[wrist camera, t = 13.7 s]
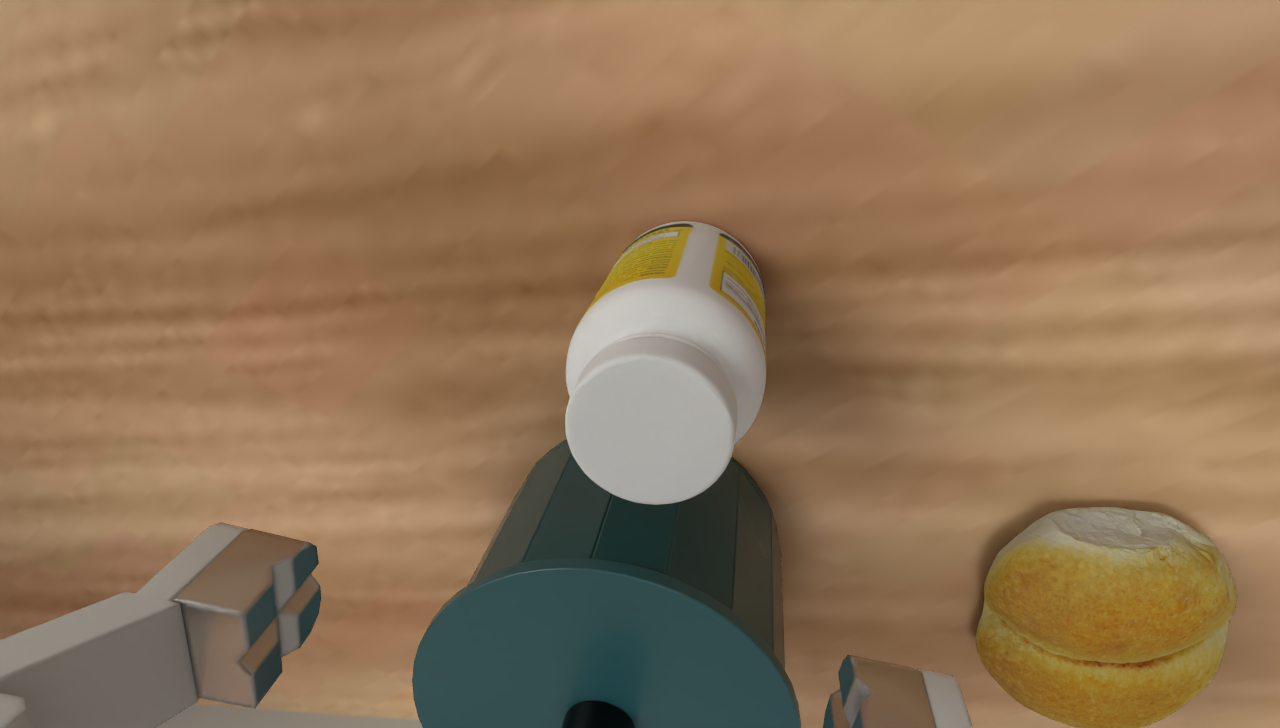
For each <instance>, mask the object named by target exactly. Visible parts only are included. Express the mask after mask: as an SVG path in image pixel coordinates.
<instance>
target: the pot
mask: <svg viewBox="0 0 1280 728" xmlns="http://www.w3.org/2000/svg"><path fill="white" fill-rule="evenodd" d="M571 557H573V558H591V559H603V560H609V561H615V562H621V563H627V564H631V565H635V566H639V567H642V568H646V569H650V570H653V571H657V572H659V573H662V574H664V575H667V576H670V577H672V578H675V579H677V580H680V581H683V582H684V583H686V584H688V585H690V586H692V587H694V588H696V589H698V590H700V591H702V592H704V593H706V594H708V595H709V596H711V597H712V598H714V599H716V600H717V601H719V602H720V603H722V604H723V605H725V606H726V607H728V608H729V609H731V610H732V611H733V612H734V613H736V614H737V615H738V616H739V617H740V618H742V619H743V620H744V621H745V622H746V623H748V624H749V625H750V626H751V627H752V628H753V629H754V630H755V631H756V632H757V633H758V634H759V636H760V637H761V638H762V639H763V640H764V641H765V642H766V643H767V644H768V645H769V647H770V648H771V650H772V651H773V652H774V654H775V655H776V657H777V658H778V659H779V661H780V662H781V664H782V666H783V668H784V670H785V655H784V625H783V595H782V564H781V551H780V547H779V542H778V534H777V527H776V523H775V519H774V516H773V513H772V510H771V508H770V506H769V504H768V502H767V499H766V497H765V496H764V494H763V493H762V491H761V490H760V488H759V487H758V485H757V484H756V482H755V481H754V480H753V479H752V478H751V476H750V475H749V474H748V473H747V472H746V471H745V470H744V469H743V468H742V467H741V466H740V465H739V464H738V463H737V462H735V461H734V460H733V459H732V458H731V459H730V461H729V463H728V465H727V467H726V469H725V470H724V472H723V473H722V474H721V476H720V477H719V478H718V479H717V481H716V482H714V483H713V484H712V485H711V486H710V487H709V488H707V489H706V490H705V491H703V492H702V493H700V494H698V495H696V496H694V497H692V498H690V499H687V500H684V501H681V502H676V503H671V504H659V505H654V504H642V503H636V502H632V501H629V500H626V499H623V498H620V497H618V496H616V495H613V494H611V493H610V492H608V491H606V490H605V489H603V488H601V487H600V486H599V485H597V484H596V483H595V482H593V481H592V480H591V479H590V478H589V477H588V476H587V475H586V474H585V473H584V471H583V470H582V469H581V467H580V466H579V465H578V463H577V462H576V460H575V458H574V457H573V455H572V453H571V450H570V447H569V444H568V442H567V440H565V441H563V442H561V443H560V444H559V445H557V446H556V447H554V448H553V449H551V450H550V451H549V452H548V453H547V454H545V455H544V456H543V457H542V458H541V459H540V460H539V461H538V462H537V463H536V464H535V466H534V468H533V469H532V470H531V472H530V473H529V474H528V476H527V478H526V480H525V482H524V483H523V485H522V486H521V488H520V489H519V491H518V493H517V494H516V496H515V497H514V499H513V501H512V503H511V505H510V507H509V508H508V510H507V512H506V514H505V516H504V518H503V520H502V522H501V523H500V525H499V527H498V529H497V531H496V533H495V535H494V536H493V538H492V540H491V542H490V544H489V546H488V548H487V550H486V551H485V553H484V555H483V557H482V559H481V561H480V563H479V564H478V566H477V568H476V570H475V572H474V574H473V576H472V578H471V579H470V581H469V583H468V585H469V584H471V583H472V582H474V581H475V580H477V579H479V578H481V577H483V576H486V575H488V574H490V573H492V572H494V571H497V570H499V569H503V568H506V567H509V566H513V565H516V564H519V563H524V562H530V561H536V560H542V559H552V558H571ZM468 585H467V586H468Z"/></svg>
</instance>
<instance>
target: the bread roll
mask: <svg viewBox="0 0 1280 728" xmlns="http://www.w3.org/2000/svg"><path fill="white" fill-rule="evenodd" d="M984 597H985V600H984V606H983V613H982V616H981V618H980V621H979V623H978V627H977V633H976V645H977V652H978V654H979V656H980V659H981V661H982V663H983V665H984V666H985V668H986V669H987V671H988V672H989V673H990V675H991V676H992V677H993V678H994V679H995V680H996V681H997V682H998V683H999V684H1000V685H1001V687H1002V688H1003V689H1004V690H1005V691H1006V692H1007V693H1008V694H1009V695H1011V696H1012V697H1013V698H1014V699H1015V700H1016V701H1018V702H1019V703H1020V704H1022V705H1023V706H1025V707H1027V708H1028V709H1030V710H1032V711H1034V712H1036V713H1038V714H1041V715H1043V716H1045V717H1048V718H1050V719H1053V720H1055V721H1058V722H1061V723H1064V724H1067V725H1070V726H1074V727H1077V728H1140V727H1144V726H1147V725H1150V724H1152V723H1155V722H1157V721H1160V720H1162V719H1164V718H1165V717H1167V716H1168V715H1170V714H1172V713H1173V712H1175V711H1177V710H1178V709H1179V708H1180V707H1182V706H1183V705H1184V704H1185V703H1187V702H1188V701H1190V700H1191V699H1192V698H1194V697H1195V696H1197V695H1198V694H1199V693H1200V692H1201V691H1202V690H1203V689H1204V688H1205V687H1207V686H1208V684H1209V683H1210V682H1211V680H1212V678H1213V677H1214V675H1215V673H1216V671H1217V669H1218V667H1219V665H1220V662H1221V659H1222V655H1223V653H1224V650H1225V645H1226V639H1227V634H1228V628H1229V622H1230V617H1231V616H1232V615H1233V613H1234V610H1235V608H1236V601H1237V594H1236V587H1235V584H1234V580H1233V577H1232V574H1231V572H1230V569H1229V566H1228V564H1227V562H1226V560H1225V558H1224V556H1223V555H1222V554H1221V553H1220V552H1219V550H1218V549H1217V547H1216V546H1215V544H1214V543H1213V542H1212V541H1211V539H1210V538H1209V537H1207V536H1206V535H1204V534H1202V533H1201V532H1199V531H1197V530H1196V529H1194V528H1192V527H1190V526H1188V525H1187V524H1184V523H1182V522H1180V521H1178V520H1177V519H1175V518H1173V517H1172V516H1170V515H1167V514H1165V513H1161V512H1150V511H1139V510H1129V509H1124V508H1119V507H1086V508H1070V509H1064V510H1059V511H1054V512H1052V513H1049V514H1047V515H1045V516H1043V517H1041V518H1040V519H1038V520H1036V521H1035V522H1034V523H1032V524H1031V525H1029V526H1028V527H1027V528H1026V529H1025V530H1024V531H1022V532H1021V533H1020V534H1018V535H1017V536H1016V537H1015V538H1014V539H1013V540H1011V541H1010V542H1009V543H1008V544H1007V545H1006V546H1005V547H1003V548H1002V549H1001V550H1000V551H999V552H998V554H997V556H996V558H995V560H994V562H993V564H992V566H991V568H990V570H989V572H988V575H987V577H986V580H985V582H984Z"/></svg>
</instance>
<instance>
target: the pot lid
mask: <svg viewBox="0 0 1280 728" xmlns="http://www.w3.org/2000/svg"><path fill="white" fill-rule="evenodd" d="M412 683H413V695H414V701H415V705H416V709H417V713H418V717H419V719H420V722H421V724H422V726H423V728H801V720H800V713H799V706H798V701H797V698H796V695H795V692H794V689H793V686H792V683H791V681H790V679H789V677H788V675H787V673H786V671H785V670H784V668H783V666H782V664H781V662H780V661H779V659H778V658H777V657H776V655H775V654H774V652H773V651H772V650H771V648H770V647H769V645H768V644H767V643H766V642H765V641H764V640H763V639H762V638H761V637H760V636H759V634H758V633H757V632H756V631H755V630H754V629H753V628H752V627H751V626H750V625H749V624H748V623H746V622H745V621H744V620H743V619H742V618H740V617H739V616H738V615H737V614H736V613H734V612H733V611H732V610H731V609H729V608H728V607H726V606H725V605H723V604H722V603H720V602H719V601H717V600H716V599H714V598H712V597H711V596H709V595H708V594H706V593H704V592H702V591H700V590H698V589H696V588H694V587H692V586H690V585H688V584H686V583H684V582H683V581H680V580H677V579H675V578H672V577H670V576H667V575H664V574H662V573H659V572H657V571H653V570H650V569H646V568H642V567H639V566H635V565H631V564H627V563H621V562H615V561H609V560H603V559H591V558H573V557H571V558H552V559H542V560H536V561H530V562H524V563H519V564H516V565H513V566H509V567H506V568H503V569H499V570H497V571H494V572H492V573H490V574H488V575H486V576H483V577H481V578H479V579H477V580H475V581H474V582H472V583H471V584H469V585H468V586H466V587H465V588H463V589H462V590H460V591H459V592H457V593H456V594H455V595H454V596H453V597H452V598H451V599H450V600H449V601H448V602H446V603H445V604H444V605H443V607H442V608H441V609H440V611H439V612H438V613H437V614H436V616H435V617H434V618H433V620H432V621H431V623H430V625H429V627H428V628H427V630H426V632H425V634H424V636H423V638H422V640H421V642H420V644H419V647H418V650H417V654H416V657H415V661H414V668H413V679H412Z"/></svg>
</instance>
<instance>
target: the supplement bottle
mask: <svg viewBox="0 0 1280 728" xmlns="http://www.w3.org/2000/svg"><path fill="white" fill-rule="evenodd" d="M765 325H766V323H765V291H764V286H763V282H762V278H761V275H760V272H759V269H758V267H757V265H756V263H755V261H754V259H753V258H752V256H751V255H750V253H749V252H748V251H747V250H746V248H745V247H744V246H743V245H742V244H741V243H740V242H739V241H738V240H737V239H735V238H734V237H733V236H731V235H730V234H728V233H726V232H725V231H723V230H721V229H719V228H717V227H714V226H711V225H708V224H704V223H699V222H691V221H679V222H671V223H667V224H663V225H660V226H657V227H655V228H652V229H650V230H648V231H646V232H645V233H643V234H642V235H640V236H639V237H638V238H636V239H635V240H634V241H633V242H632V243H631V244H630V245H629V246H628V247H627V248H626V249H625V250H624V252H623V253H622V254H621V256H620V257H619V259H618V260H617V262H616V263H615V265H614V267H613V268H612V270H611V272H610V274H609V276H608V277H607V279H606V281H605V282H604V284H603V286H602V287H601V289H600V290H599V292H598V293H597V295H596V297H595V299H594V300H593V302H592V303H591V305H590V306H589V308H588V309H587V311H586V313H585V314H584V316H583V317H582V319H581V320H580V322H579V324H578V326H577V328H576V330H575V333H574V335H573V337H572V340H571V343H570V346H569V350H568V355H567V362H566V384H567V389H568V393H569V397H570V399H569V402H568V406H567V410H566V416H565V430H566V436H567V442H568V444H569V447H570V450H571V453H572V455H573V457H574V458H575V460H576V462H577V463H578V465H579V466H580V467H581V469H582V470H583V471H584V473H585V474H586V475H587V476H588V477H589V478H590V479H591V480H592V481H593V482H595V483H596V484H597V485H599V486H600V487H601V488H603V489H605V490H606V491H608V492H610V493H611V494H613V495H616V496H618V497H620V498H623V499H626V500H629V501H632V502H636V503H642V504H654V505H659V504H671V503H676V502H681V501H684V500H687V499H690V498H692V497H694V496H696V495H698V494H700V493H702V492H703V491H705V490H706V489H707V488H709V487H710V486H711V485H712V484H713V483H714V482H716V481H717V479H718V478H719V477H720V476H721V474H722V473H723V472H724V470H725V469H726V467H727V465H728V463H729V461H730V459H731V456H732V453H733V449H734V445H735V444H736V443H737V442H738V441H739V440H741V439H742V438H743V436H744V435H745V434H746V433H747V431H748V430H749V429H750V427H751V426H752V424H753V422H754V420H755V419H756V417H757V415H758V412H759V410H760V407H761V403H762V399H763V395H764V390H765V383H766V332H765Z"/></svg>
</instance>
